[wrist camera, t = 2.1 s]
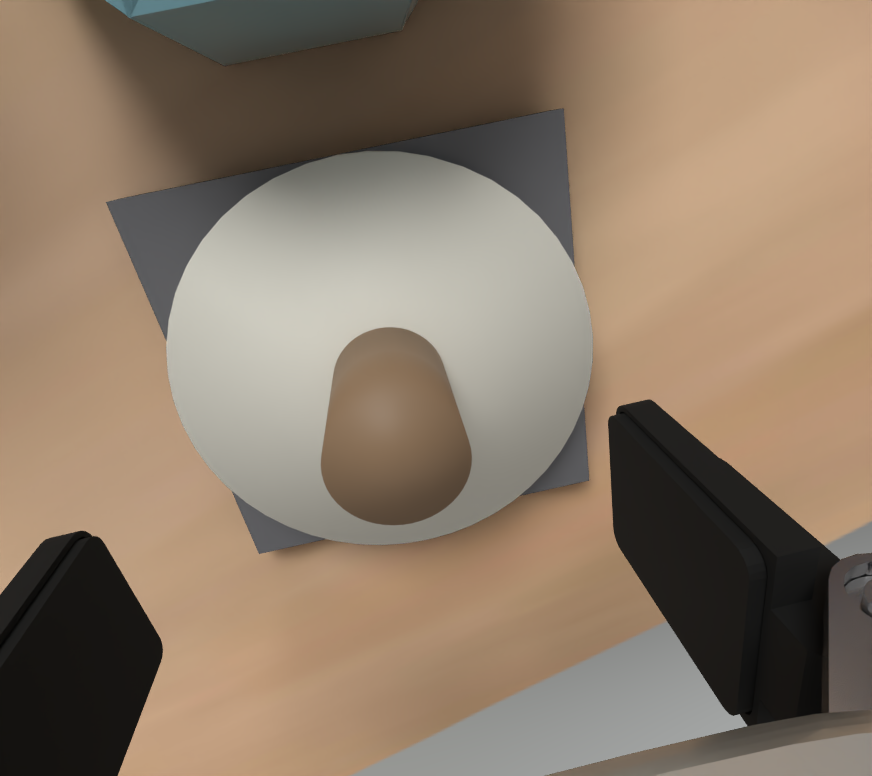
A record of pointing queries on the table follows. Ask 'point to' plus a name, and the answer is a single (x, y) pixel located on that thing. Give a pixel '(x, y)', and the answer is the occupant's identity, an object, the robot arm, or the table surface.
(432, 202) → the lid
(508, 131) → the mat
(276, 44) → the pot
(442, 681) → the table surface
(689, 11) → the table surface
